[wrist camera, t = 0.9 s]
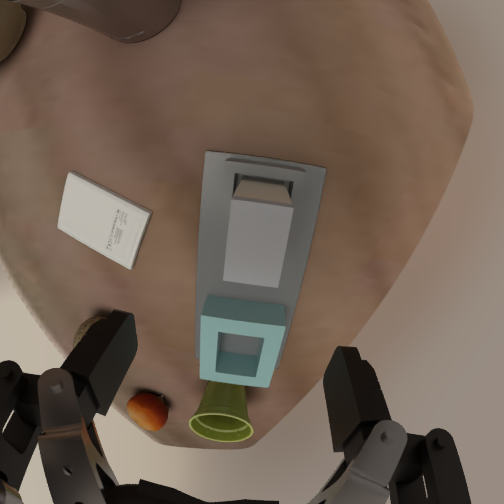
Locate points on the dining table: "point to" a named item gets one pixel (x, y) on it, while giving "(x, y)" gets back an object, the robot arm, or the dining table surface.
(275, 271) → the plug
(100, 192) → the external hard drive
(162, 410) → the fruit
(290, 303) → the panel
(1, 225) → the dining table surface
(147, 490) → the robot arm
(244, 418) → the plant pot
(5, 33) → the planter bowl
